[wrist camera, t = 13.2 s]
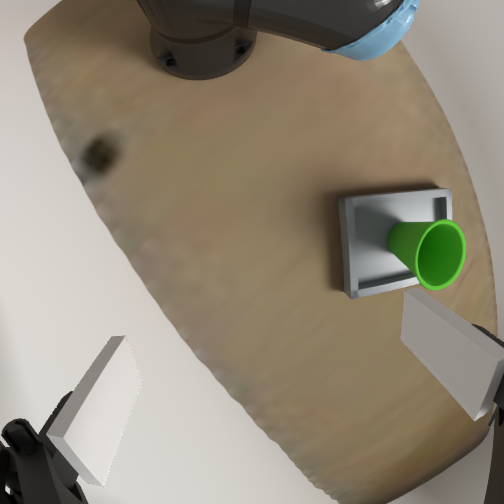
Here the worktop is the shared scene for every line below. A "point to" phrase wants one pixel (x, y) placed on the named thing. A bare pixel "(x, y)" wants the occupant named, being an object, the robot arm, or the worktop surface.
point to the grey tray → (383, 236)
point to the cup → (429, 250)
